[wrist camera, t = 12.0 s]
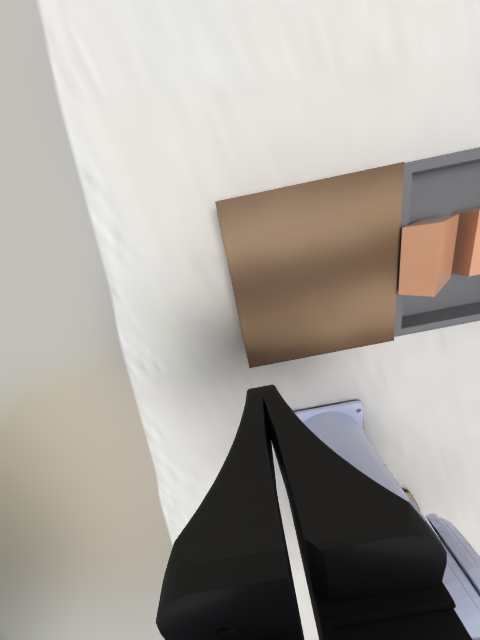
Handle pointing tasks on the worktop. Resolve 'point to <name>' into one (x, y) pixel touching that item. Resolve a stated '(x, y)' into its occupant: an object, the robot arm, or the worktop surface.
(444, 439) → the worktop surface
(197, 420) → the worktop surface
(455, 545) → the robot arm
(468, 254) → the tile
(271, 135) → the worktop surface
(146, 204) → the worktop surface
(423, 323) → the box
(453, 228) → the tile
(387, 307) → the board
